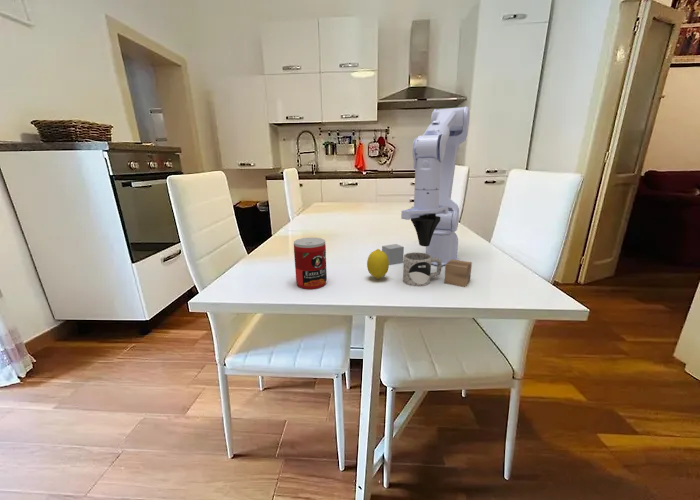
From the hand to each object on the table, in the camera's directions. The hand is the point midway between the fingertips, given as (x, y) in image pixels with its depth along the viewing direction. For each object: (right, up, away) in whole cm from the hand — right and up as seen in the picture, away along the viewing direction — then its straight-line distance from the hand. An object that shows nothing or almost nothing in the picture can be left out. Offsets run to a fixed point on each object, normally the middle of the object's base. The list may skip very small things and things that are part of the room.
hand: (424, 245), depth 77 cm
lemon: (-11, -9, +4) cm, 15 cm away
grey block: (-5, -5, +18) cm, 19 cm away
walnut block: (+9, -9, +1) cm, 13 cm away
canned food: (-28, -10, +2) cm, 30 cm away
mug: (0, -9, +3) cm, 10 cm away
